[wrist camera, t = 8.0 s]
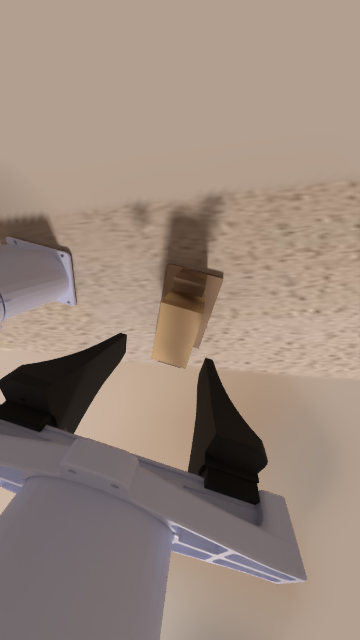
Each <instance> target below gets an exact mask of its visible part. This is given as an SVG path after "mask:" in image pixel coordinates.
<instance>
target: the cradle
mask: <svg viewBox="0 0 360 640" xmlns="http://www.w3.org/2000/svg"><path fill="white" fill-rule="evenodd" d="M222 282H223V278H222V277H218V276H214V275H210V274H207V273H203V272H199V271H195V270H192V269H188V268H184V267H180V266H177V265H173V264H168V266H167V272H166V277H165V283H164V289H163V295H162V300H163V299H164V298H165V297H166V295H167V294H168V293H169V292H170V290H171V289H172V288H173V289H174V290H177V291H181V292H184V293H188V294H192V295H195V296H199V297H202V296H206V298H205V306H204V315H203V318H202V321H201V324H200V327H199V330H198V333H197V336H196V339H195V342H194V345H193V347H195V348H198V349H199V346H200V343H201V340H202V337H203V335H204V332H205V329H206V326H207V323H208V321H209V318H210V315H211V312H212V310H213V307H214V304H215V301H216V298H217V296H218V293H219V290H220V287H221V284H222ZM162 300H161V302H162ZM159 362H161V361H159ZM162 363H165V362H162ZM165 364H168V363H165ZM169 365H171V364H169ZM172 366H175V365H172ZM175 367H178V366H175ZM178 368H180V367H178Z"/></svg>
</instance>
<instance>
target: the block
mask: <svg viewBox="0 0 360 640" xmlns="http://www.w3.org/2000/svg"><path fill="white" fill-rule="evenodd" d="M205 298H206V296H202V297H199V296H195V295H192V294H188V293H184V292H181V291H177V290H174V289H173V288H172V289H171V290H170V292H169V293H168V294H167V295H166V297H165V298H164V299H163V300H162V302H161V305H160V311H159V317H158V323H157V328H156V334H155V340H154V346H153V351H152V357H151V359H155V360H158V361H161V362H165V363H168V364H171V365H175V366H178V367H181V368H186V366H187V363H188V360H189V357H190V354H191V351H192V348H193V345H194V342H195V339H196V336H197V333H198V330H199V327H200V324H201V321H202V318H203V315H204V306H205Z"/></svg>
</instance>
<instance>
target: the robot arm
mask: <svg viewBox="0 0 360 640" xmlns="http://www.w3.org/2000/svg"><path fill="white" fill-rule="evenodd" d="M6 242H7V245H0V329H1V328H2V326H1V322H2V321H4V320H7V319H9V318H12V317H15V316H17V315H20V314H22V313H25V312H27V311H30V310H32V309H35V308H37V307H40V306H42V305H45V304H47V303H50V302H52V301H58V302H61V303H64V304H68V305H71V306H74V305H76V297H75V288H74V280H73V271H72V262H71V256H70V254H69V253H67V252H64V251H60V250H57V249H53V248H49V247H46V246H42V245H38V244H35V243H31V242H27V241H24V240H20V239H17V238H13V237H6ZM63 255H64V256H63ZM69 301H70V302H69ZM126 340H127V335H126V334H122V333H119V334H117V335H115V336H113V337H111V338H109V339H107V340H105V341H103V342H101V343H99V344H97V345H95V346H92V347H90V348H88V349H85V350H83V351H80V352H77V353H74V354H71V355H68V356H64V357H61V358H57V359H53V360H49V361H44V362H38V363H32V364H26V365H21V366H20V367H18V368H17V369H15V370H14V371H12V372H11V373H9V374H8V375H6V376H5V377H3V378H2V379H1V380H0V389H1V391H2V393H3V395H4V397H5V399H6V401H5V402H4V403H3V404H1V405H0V487H2V488H4V489H7V490H9V491H11V492H13V493H16V495H15V497H14V498H13V499H12V500H11V502H10V503H9V505H8V506H7V507H6V508H5V510H4V511H3V512H2V514H1V515H0V640H160V632H161V624H162V616H163V608H164V601H165V594H166V585H167V578H168V571H169V563H170V554H171V551H172V552H175V553H179V554H183V555H186V556H189V557H193V558H196V559H199V560H203V561H206V562H210V563H213V564H217V565H220V566H224V567H227V568H230V569H234V570H237V571H240V572H244V573H246V574H250V575H253V576H256V577H259V578H261V579H265V580H267V581H270V582H273V583H276V584H281V583H294V582H306V581H307V576H306V573H305V569H304V566H303V562H302V559H301V555H300V551H299V548H298V544H297V541H296V537H295V534H294V530H293V526H292V523H291V520H290V516H289V512H288V509H287V505H286V501H285V498H284V497H282V496H280V495H277V494H273V493H270V492H268V491H264V490H259V491H258V487H257V483H259V478H258V473H259V472H260V471H261V470H262V469H263V468H265V466H266V465H267V462H268V460H267V456H266V452H265V448H264V446H263V443H262V440H261V439H260V438H259V437H258V436H257V435H256V434H255V432H254V431H253V430H252V429H251V428H250V427H249V425H248V424H247V423H246V422H245V420H244V419H243V418H242V416H241V415H240V414H239V412H238V411H237V409H236V408H235V407H234V405H233V403H232V402H231V400H230V399H229V397H228V395H227V393H226V391H225V389H224V387H223V385H222V383H221V381H220V379H219V376H218V374H217V371H216V368H215V365H214V362H213V360H211V359H208V358H205V360H204V363H203V365H202V368H201V370H200V373H199V378H198V384H197V409H196V410H197V411H196V420H195V428H194V436H193V442H192V449H191V455H190V461H189V467H188V472H186V471H183V470H180V469H177V468H174V467H171V466H168V465H165V464H162V463H159V462H156V461H153V460H150V459H147V458H144V457H141V456H138V455H135V454H132V453H129V452H127V451H125V450H122V449H119V448H116V447H113V446H110V445H107V444H104V443H101V442H98V441H95V440H92V439H89V438H84V437H81V436H78V435H75V434H74V432H75V430H76V429H77V427H78V425H79V423H80V421H81V419H82V418H83V416H84V414H85V412H86V411H87V409H88V407H89V405H90V404H91V402H92V401H93V399H94V397H95V396H96V394H97V392H98V391H99V389H100V388H101V386H102V385H103V383H104V382H105V381H106V379H107V378H108V377H109V376H110V374H111V373H112V372H113V370H114V369H115V368H116V366H117V365H118V364H119V363H120V361H121V359H122V358H123V356H124V354H125V353H126Z"/></svg>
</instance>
